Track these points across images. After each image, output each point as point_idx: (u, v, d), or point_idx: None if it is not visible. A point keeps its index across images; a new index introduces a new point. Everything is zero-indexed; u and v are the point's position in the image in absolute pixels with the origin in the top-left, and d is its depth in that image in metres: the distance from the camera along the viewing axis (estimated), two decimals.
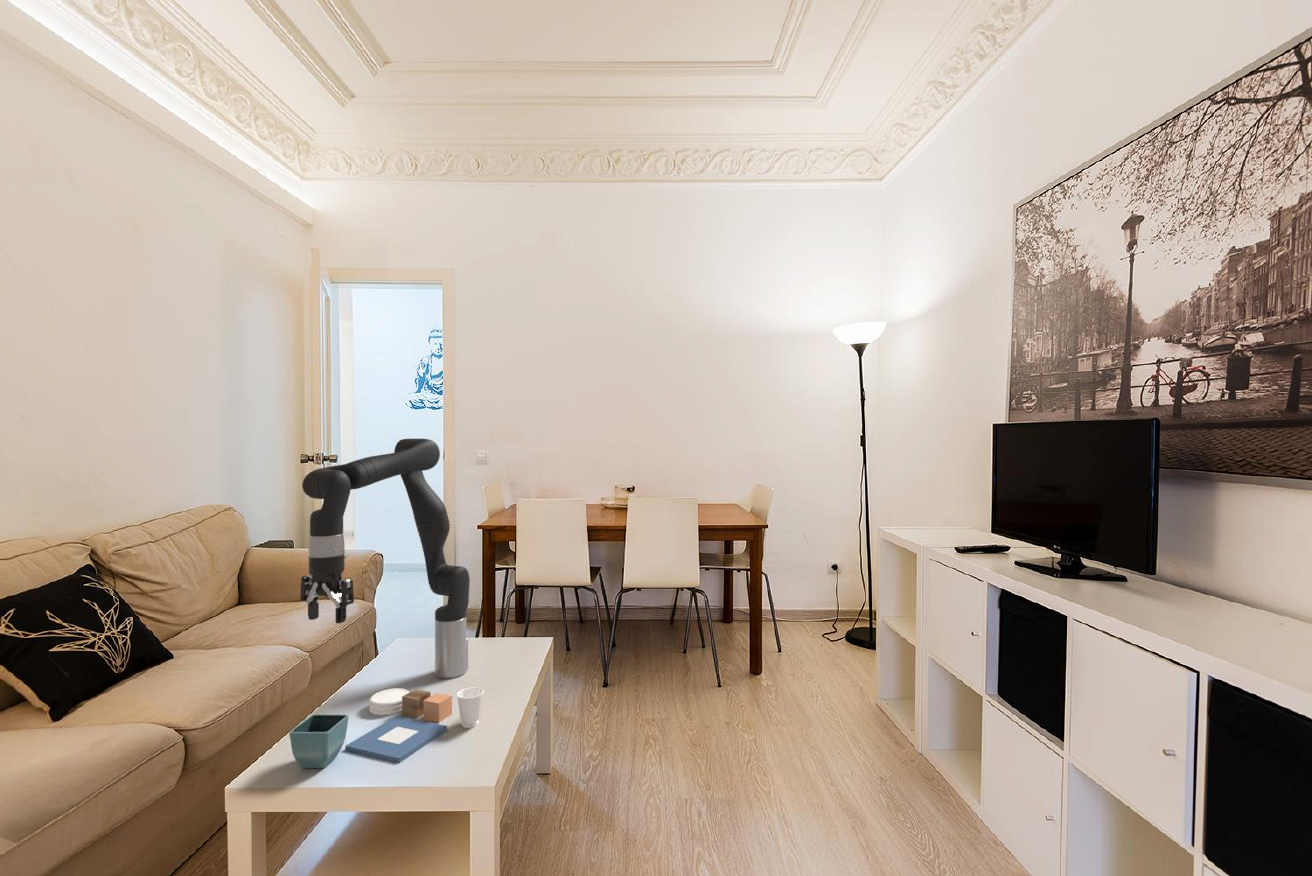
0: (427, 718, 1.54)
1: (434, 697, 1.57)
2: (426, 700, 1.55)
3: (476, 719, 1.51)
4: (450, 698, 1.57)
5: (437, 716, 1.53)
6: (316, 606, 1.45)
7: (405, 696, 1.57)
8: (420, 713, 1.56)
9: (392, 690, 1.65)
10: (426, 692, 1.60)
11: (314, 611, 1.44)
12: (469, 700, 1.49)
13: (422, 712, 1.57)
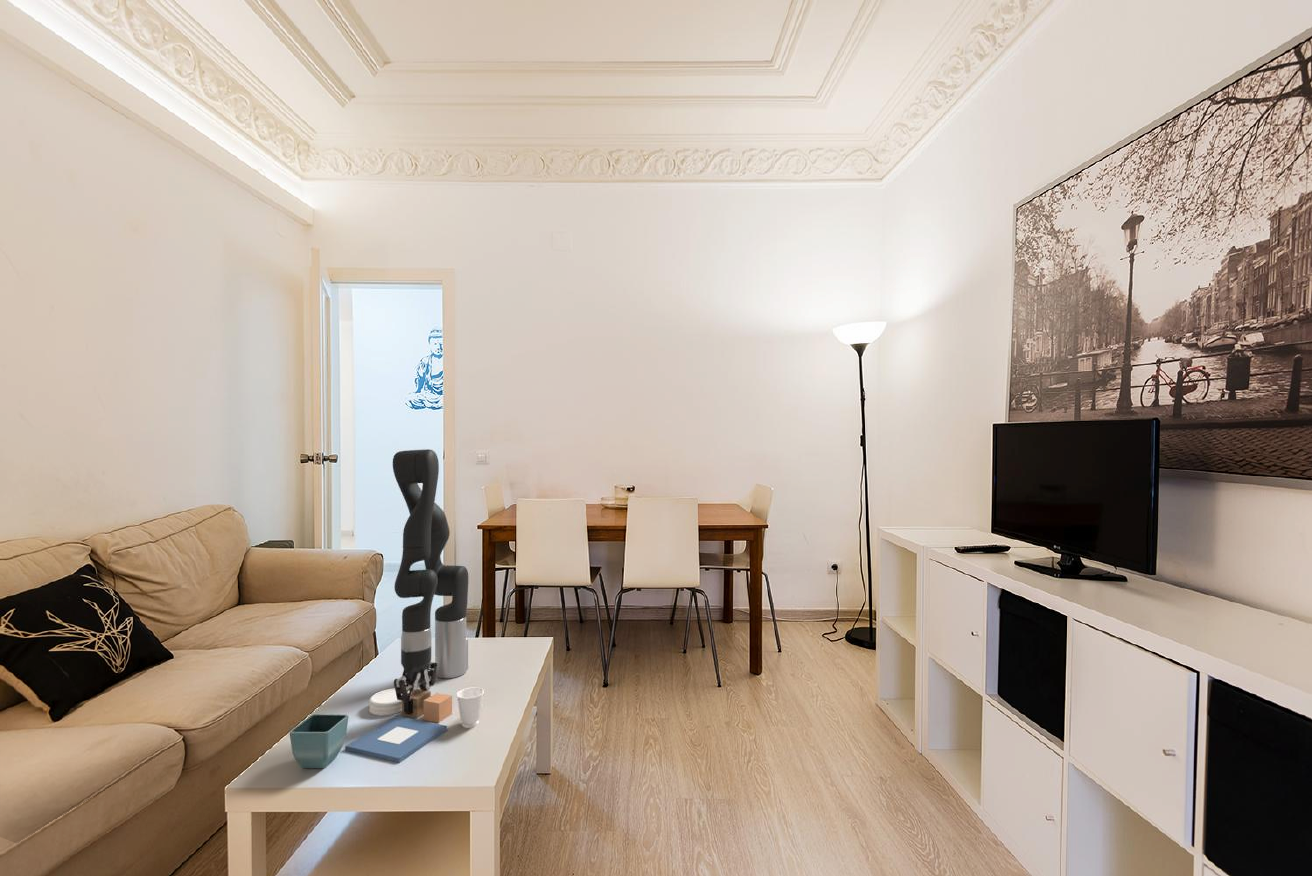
0: (427, 718, 1.54)
1: (434, 697, 1.57)
2: (426, 700, 1.55)
3: (476, 719, 1.51)
4: (450, 698, 1.57)
5: (437, 716, 1.53)
6: None
7: None
8: (420, 713, 1.56)
9: (392, 690, 1.65)
10: (426, 692, 1.60)
11: None
12: (469, 700, 1.49)
13: (422, 712, 1.57)
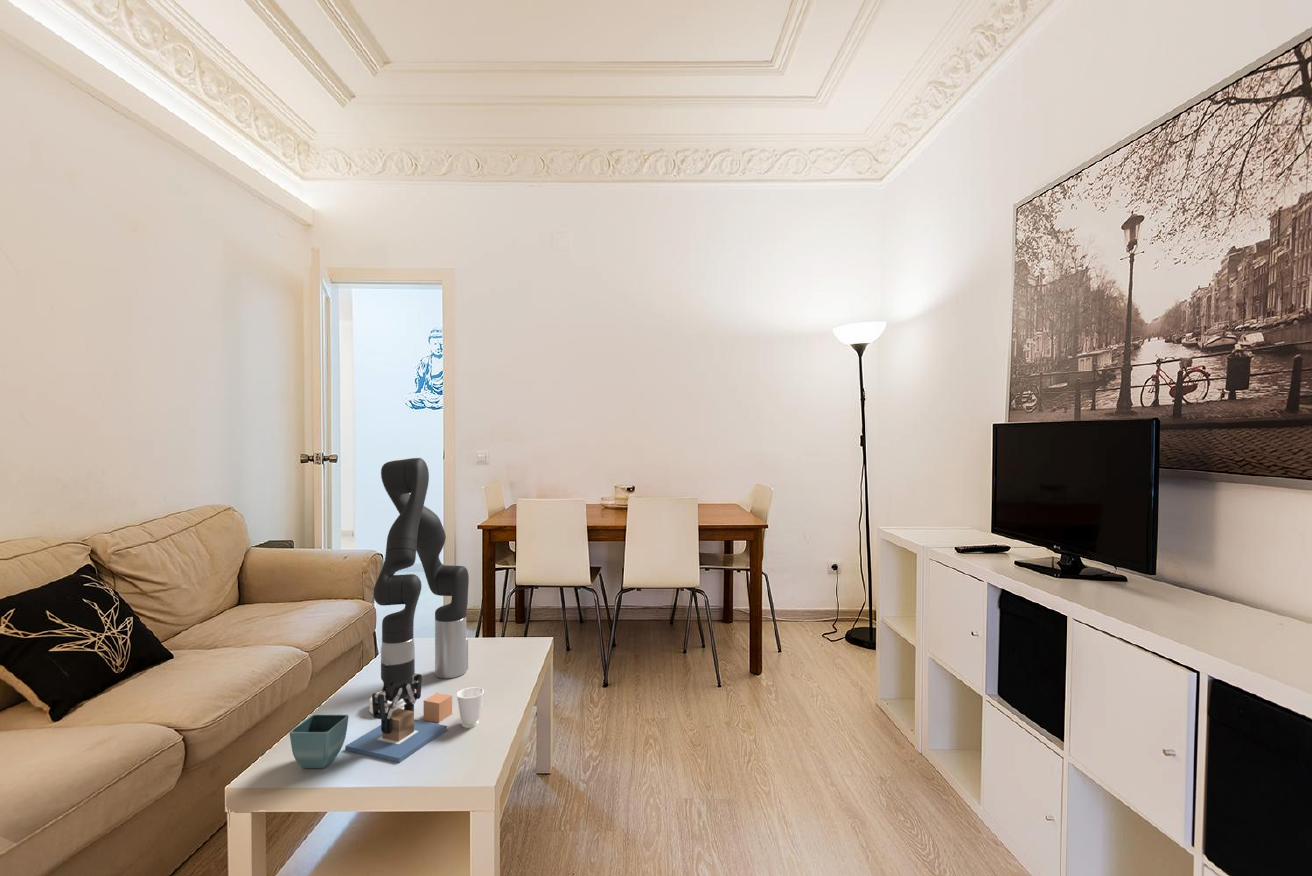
0: (427, 718, 1.54)
1: (434, 697, 1.57)
2: (426, 700, 1.55)
3: (476, 719, 1.51)
4: (450, 698, 1.57)
5: (437, 716, 1.53)
6: None
7: None
8: (402, 736, 1.42)
9: None
10: (409, 712, 1.46)
11: None
12: (469, 700, 1.49)
13: (404, 734, 1.43)
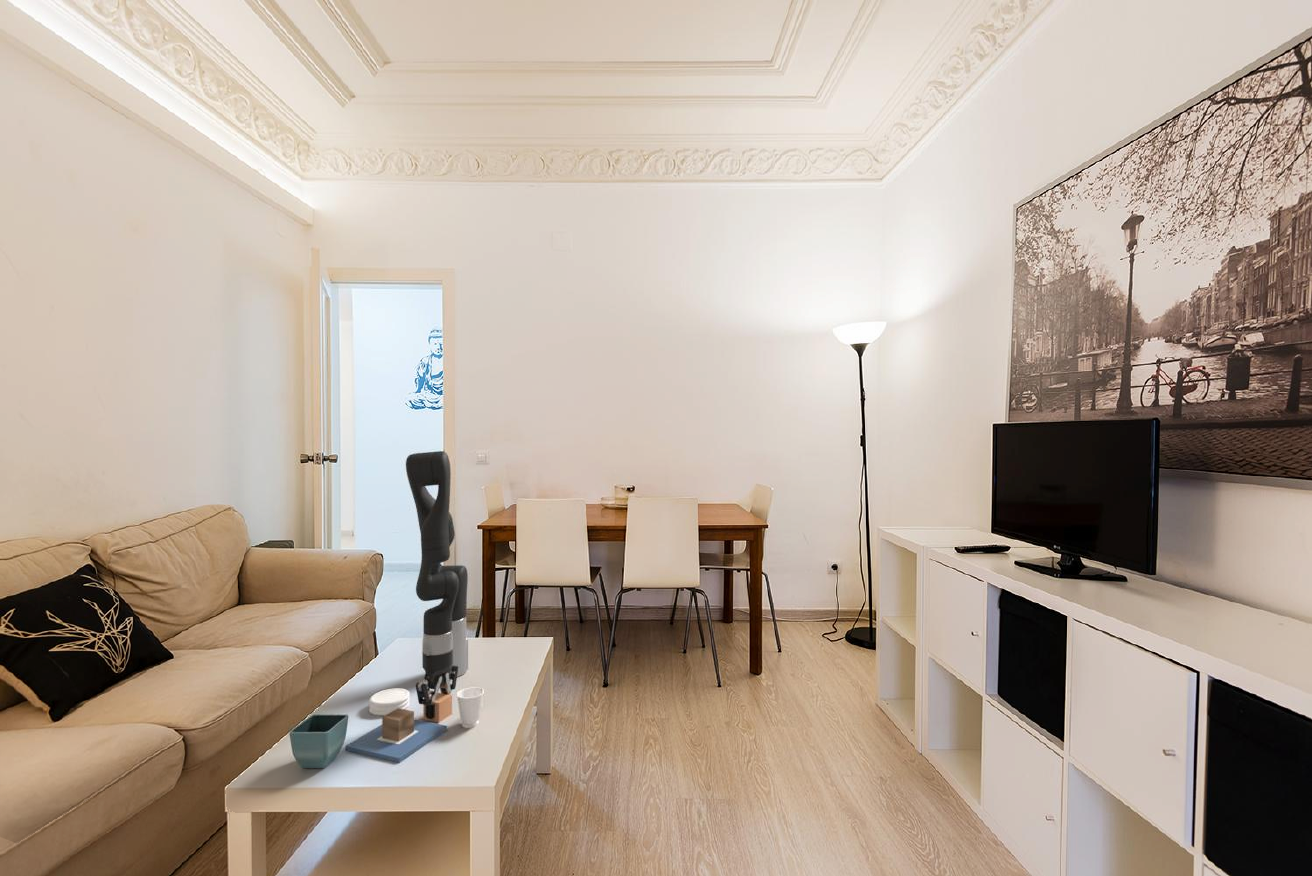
0: (427, 718, 1.54)
1: None
2: None
3: (476, 719, 1.51)
4: (450, 698, 1.57)
5: (437, 716, 1.53)
6: None
7: (386, 717, 1.43)
8: (402, 736, 1.42)
9: (392, 690, 1.65)
10: (409, 712, 1.46)
11: None
12: (469, 700, 1.49)
13: (404, 734, 1.43)
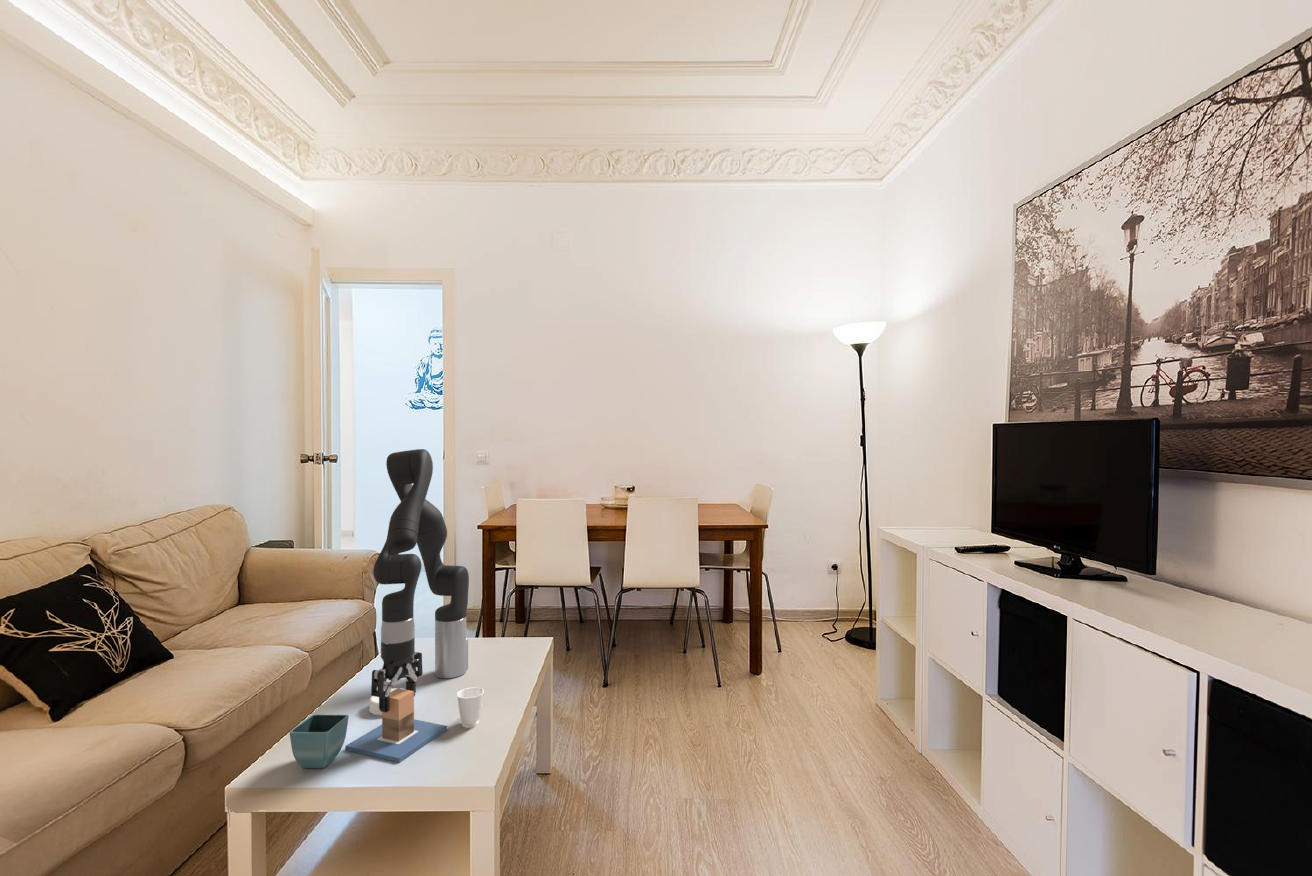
0: (386, 715, 1.42)
1: (394, 693, 1.45)
2: None
3: (476, 719, 1.51)
4: (412, 694, 1.45)
5: (396, 713, 1.41)
6: None
7: None
8: (402, 736, 1.42)
9: (392, 690, 1.65)
10: None
11: None
12: (469, 700, 1.49)
13: (404, 734, 1.43)
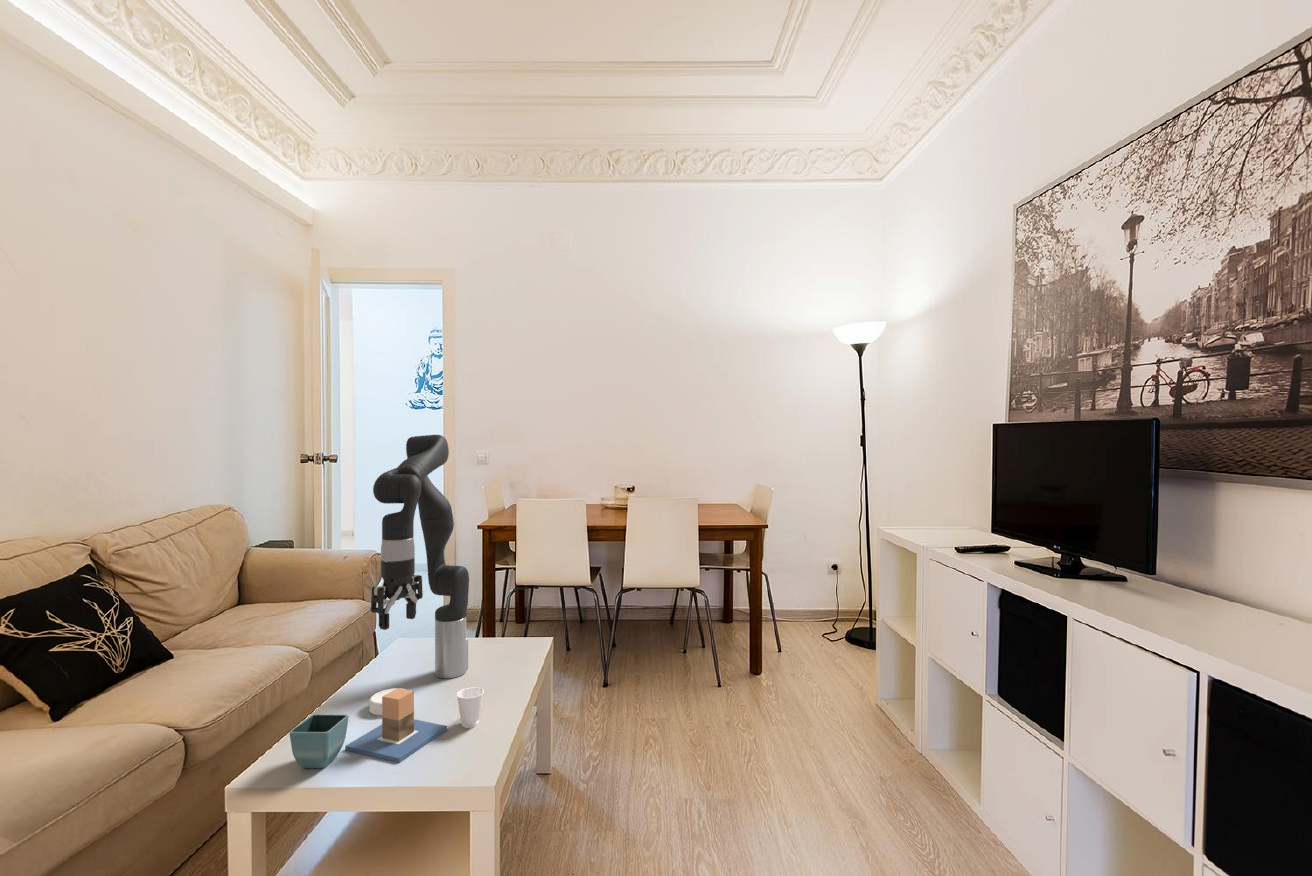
0: (386, 715, 1.42)
1: (394, 693, 1.45)
2: (385, 696, 1.43)
3: (476, 719, 1.51)
4: (412, 694, 1.45)
5: (396, 713, 1.41)
6: None
7: None
8: (402, 736, 1.42)
9: (392, 690, 1.65)
10: None
11: None
12: (469, 700, 1.49)
13: (404, 734, 1.43)
